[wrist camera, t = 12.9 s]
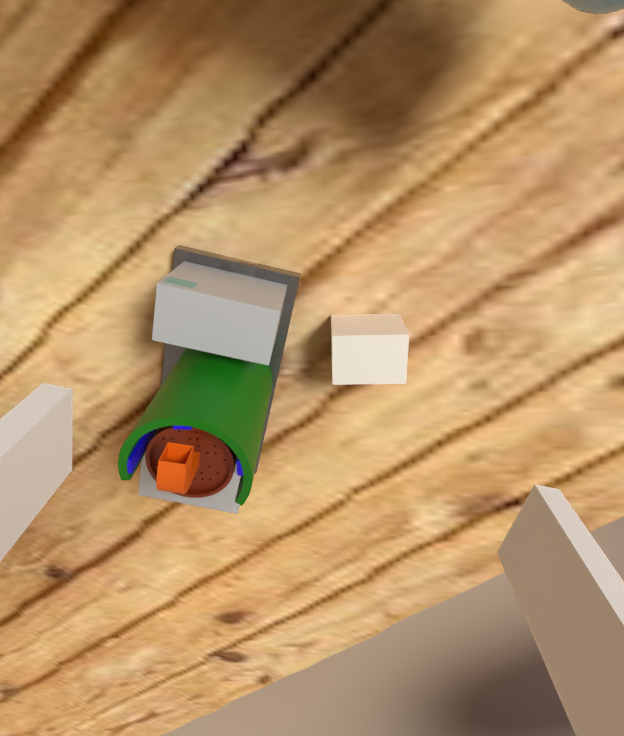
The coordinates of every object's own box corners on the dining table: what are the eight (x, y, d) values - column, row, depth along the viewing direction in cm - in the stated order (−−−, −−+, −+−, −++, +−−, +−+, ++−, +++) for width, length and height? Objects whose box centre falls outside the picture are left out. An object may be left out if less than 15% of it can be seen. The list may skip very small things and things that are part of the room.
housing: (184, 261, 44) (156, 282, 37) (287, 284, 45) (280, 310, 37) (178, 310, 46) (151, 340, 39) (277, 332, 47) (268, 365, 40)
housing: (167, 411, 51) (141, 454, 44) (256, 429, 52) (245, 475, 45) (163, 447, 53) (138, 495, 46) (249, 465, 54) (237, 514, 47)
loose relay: (330, 314, 48) (331, 335, 42) (399, 313, 47) (409, 334, 42) (331, 359, 50) (332, 384, 44) (396, 357, 50) (406, 383, 44)
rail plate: (179, 245, 45) (174, 248, 43) (300, 273, 46) (299, 277, 44) (158, 445, 55) (154, 453, 54) (257, 465, 56) (256, 473, 54)
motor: (181, 409, 51) (103, 552, 33) (171, 333, 47) (77, 448, 29) (273, 411, 51) (246, 555, 33) (271, 335, 47) (238, 451, 29)
